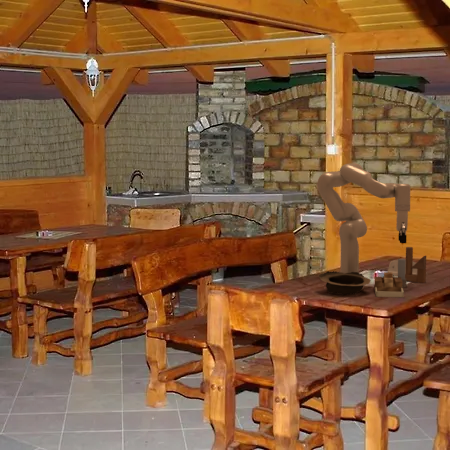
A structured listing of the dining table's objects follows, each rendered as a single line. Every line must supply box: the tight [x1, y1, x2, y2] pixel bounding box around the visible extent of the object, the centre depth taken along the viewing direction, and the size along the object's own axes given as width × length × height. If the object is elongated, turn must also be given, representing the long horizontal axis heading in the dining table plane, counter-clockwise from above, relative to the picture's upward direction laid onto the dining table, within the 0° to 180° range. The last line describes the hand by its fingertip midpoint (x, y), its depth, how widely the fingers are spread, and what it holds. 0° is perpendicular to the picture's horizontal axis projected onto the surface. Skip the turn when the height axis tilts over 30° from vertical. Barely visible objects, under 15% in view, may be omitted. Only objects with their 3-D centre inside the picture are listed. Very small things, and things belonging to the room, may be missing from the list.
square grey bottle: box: [397, 258, 407, 288], centre depth 420 cm, size 5×4×14 cm
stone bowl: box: [318, 270, 372, 296], centre depth 406 cm, size 25×25×9 cm
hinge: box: [387, 259, 417, 277], centre depth 454 cm, size 17×5×10 cm, turn 62°
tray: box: [374, 287, 405, 298], centre depth 399 cm, size 13×12×2 cm
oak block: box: [383, 271, 394, 278], centre depth 411 cm, size 4×4×6 cm
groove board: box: [374, 276, 403, 292], centre depth 411 cm, size 13×13×6 cm
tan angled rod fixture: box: [405, 246, 427, 284], centre depth 434 cm, size 4×11×18 cm, turn 55°
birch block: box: [384, 278, 393, 287], centre depth 407 cm, size 4×4×4 cm
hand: (402, 242), depth 419 cm, fingers open, 9 cm apart
